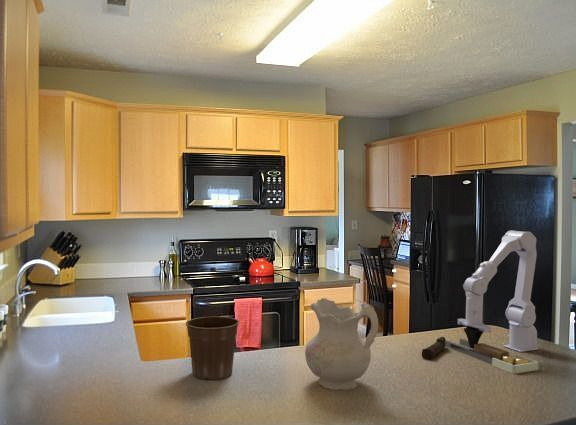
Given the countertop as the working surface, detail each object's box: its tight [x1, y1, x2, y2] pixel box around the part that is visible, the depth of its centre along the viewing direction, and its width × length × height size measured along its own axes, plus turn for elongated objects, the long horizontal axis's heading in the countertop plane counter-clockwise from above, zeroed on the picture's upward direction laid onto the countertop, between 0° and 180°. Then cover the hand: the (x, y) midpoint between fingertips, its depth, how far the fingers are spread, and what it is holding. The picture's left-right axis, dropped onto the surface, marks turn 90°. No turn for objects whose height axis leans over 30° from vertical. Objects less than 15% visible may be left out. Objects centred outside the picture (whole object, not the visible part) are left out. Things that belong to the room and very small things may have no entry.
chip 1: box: [502, 354, 516, 365], centre depth 174 cm, size 4×4×3 cm
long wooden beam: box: [473, 342, 510, 361], centre depth 181 cm, size 4×12×4 cm, turn 24°
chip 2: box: [515, 356, 528, 365], centre depth 171 cm, size 4×4×3 cm
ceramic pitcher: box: [304, 297, 379, 391], centre depth 153 cm, size 22×20×25 cm
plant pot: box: [185, 316, 240, 381], centre depth 159 cm, size 16×16×16 cm
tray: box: [491, 354, 540, 375], centre depth 172 cm, size 11×9×2 cm
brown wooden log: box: [421, 336, 447, 361], centre depth 186 cm, size 19×4×5 cm, turn 143°
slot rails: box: [445, 338, 493, 365], centre depth 188 cm, size 9×24×2 cm, turn 24°
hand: (473, 348), depth 189 cm, fingers closed
